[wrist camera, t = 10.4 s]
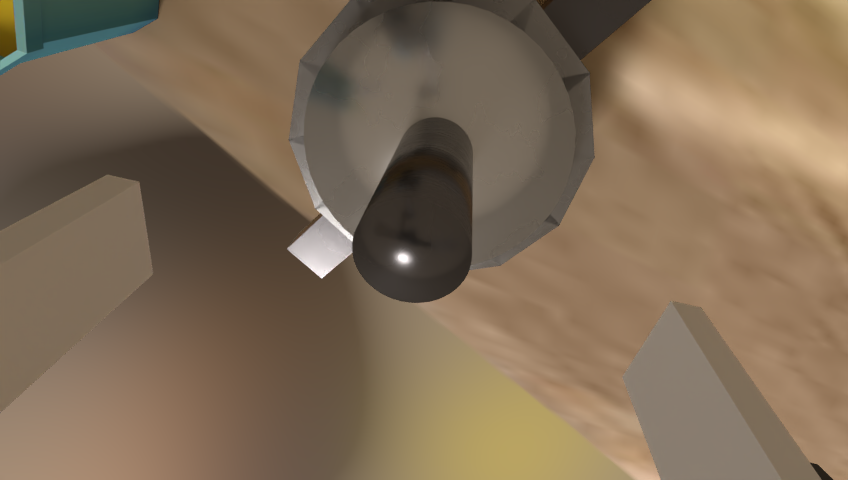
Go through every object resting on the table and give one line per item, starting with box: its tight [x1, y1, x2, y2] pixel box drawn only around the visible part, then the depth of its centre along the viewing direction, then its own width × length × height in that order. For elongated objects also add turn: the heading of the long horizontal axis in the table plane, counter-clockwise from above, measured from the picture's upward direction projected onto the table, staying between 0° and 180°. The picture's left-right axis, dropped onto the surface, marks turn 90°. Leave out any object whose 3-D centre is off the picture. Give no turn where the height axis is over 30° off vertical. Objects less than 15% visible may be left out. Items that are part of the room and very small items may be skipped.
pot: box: [288, 0, 651, 278], centre depth 25 cm, size 23×15×7 cm, turn 134°
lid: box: [304, 1, 575, 303], centre depth 18 cm, size 13×13×10 cm
